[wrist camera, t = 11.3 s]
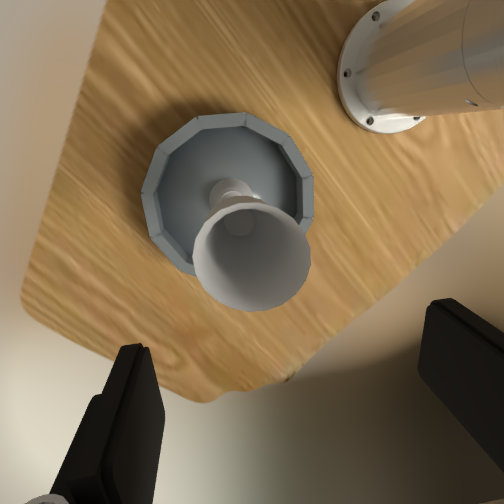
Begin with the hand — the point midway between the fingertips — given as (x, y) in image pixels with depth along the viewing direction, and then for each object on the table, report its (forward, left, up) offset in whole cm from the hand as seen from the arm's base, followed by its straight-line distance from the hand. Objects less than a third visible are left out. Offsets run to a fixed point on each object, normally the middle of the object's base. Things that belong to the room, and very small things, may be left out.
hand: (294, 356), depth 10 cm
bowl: (0, 0, -28) cm, 28 cm away
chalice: (0, 0, -27) cm, 27 cm away
